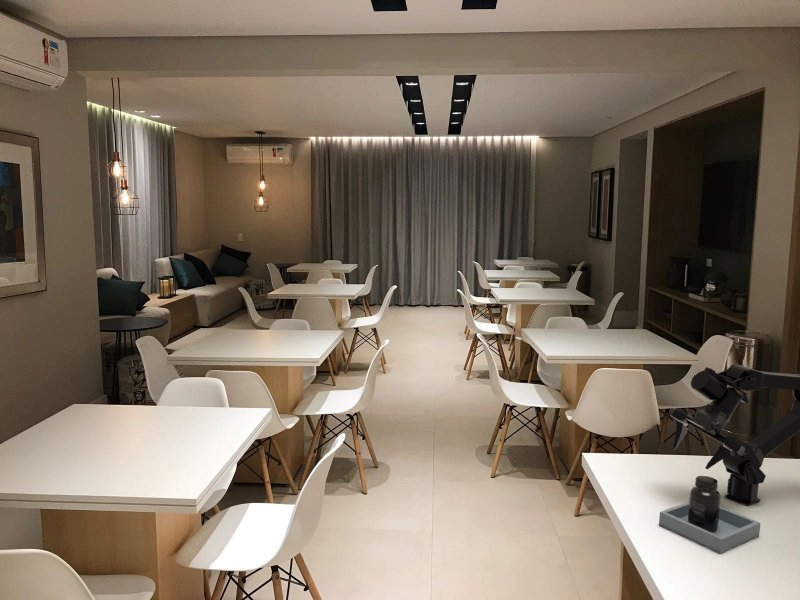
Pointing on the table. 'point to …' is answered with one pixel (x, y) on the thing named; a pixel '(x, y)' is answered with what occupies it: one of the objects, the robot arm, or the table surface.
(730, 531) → the box
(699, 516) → the supplement bottle
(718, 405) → the robot arm
